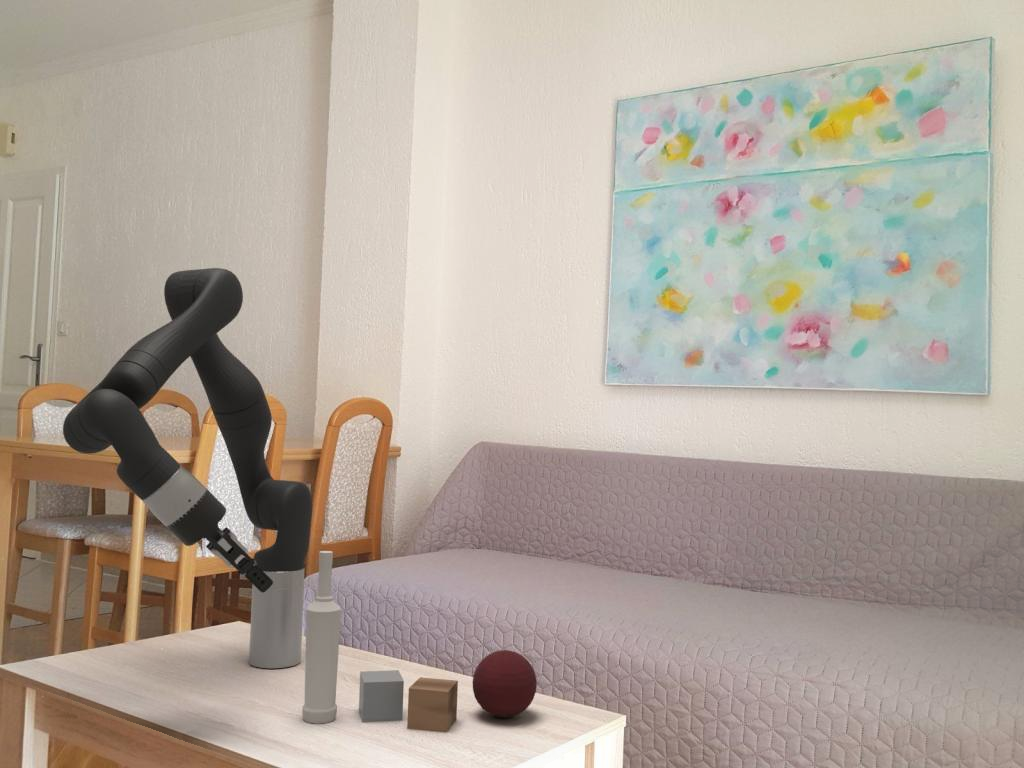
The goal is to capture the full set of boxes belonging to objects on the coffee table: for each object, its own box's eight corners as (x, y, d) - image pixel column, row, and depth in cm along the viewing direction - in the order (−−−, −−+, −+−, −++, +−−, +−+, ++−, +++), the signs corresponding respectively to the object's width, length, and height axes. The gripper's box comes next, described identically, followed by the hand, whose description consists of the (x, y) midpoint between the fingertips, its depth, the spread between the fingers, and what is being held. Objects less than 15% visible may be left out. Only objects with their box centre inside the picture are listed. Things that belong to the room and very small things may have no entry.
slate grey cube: (358, 710, 145) (360, 671, 145) (397, 708, 146) (398, 670, 147) (362, 723, 139) (363, 682, 139) (402, 721, 141) (403, 681, 141)
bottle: (343, 715, 142) (349, 551, 143) (325, 726, 137) (332, 555, 138) (313, 711, 143) (320, 548, 144) (294, 721, 139) (302, 552, 139)
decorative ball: (458, 717, 143) (460, 651, 143) (496, 702, 151) (498, 640, 152) (511, 731, 137) (513, 663, 138) (548, 715, 145) (550, 650, 146)
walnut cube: (418, 716, 143) (420, 677, 143) (456, 720, 142) (457, 680, 142) (407, 729, 137) (408, 688, 137) (446, 733, 136) (448, 691, 136)
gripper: (211, 491, 127) (292, 571, 132) (198, 482, 140) (272, 556, 145) (168, 530, 125) (252, 611, 129) (159, 518, 138) (235, 592, 142)
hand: (262, 582), depth 137 cm, fingers open, 8 cm apart
